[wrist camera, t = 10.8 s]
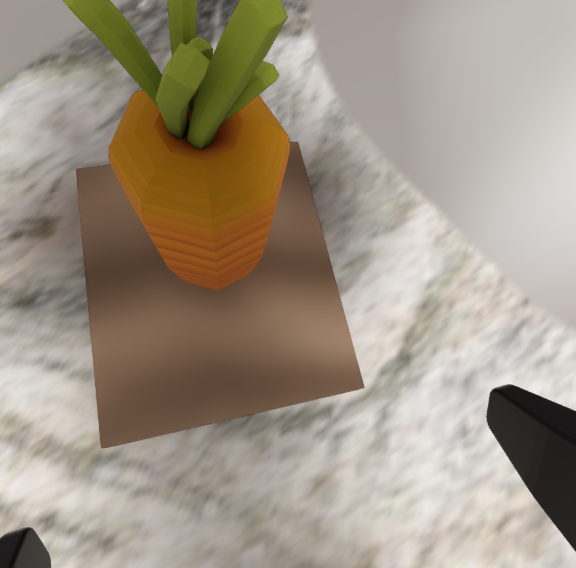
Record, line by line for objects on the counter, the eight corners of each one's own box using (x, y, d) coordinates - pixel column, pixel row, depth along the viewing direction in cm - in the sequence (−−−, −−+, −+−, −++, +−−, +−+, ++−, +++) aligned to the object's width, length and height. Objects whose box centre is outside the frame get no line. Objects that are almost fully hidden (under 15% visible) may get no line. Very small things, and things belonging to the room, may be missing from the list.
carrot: (143, 285, 21) (-47, -19, 7) (208, 213, 22) (165, -153, 8) (225, 345, 20) (206, 156, 6) (286, 268, 22) (378, -23, 8)
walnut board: (357, 389, 22) (364, 387, 20) (108, 447, 20) (101, 448, 18) (295, 154, 26) (297, 141, 24) (83, 181, 24) (75, 169, 22)
